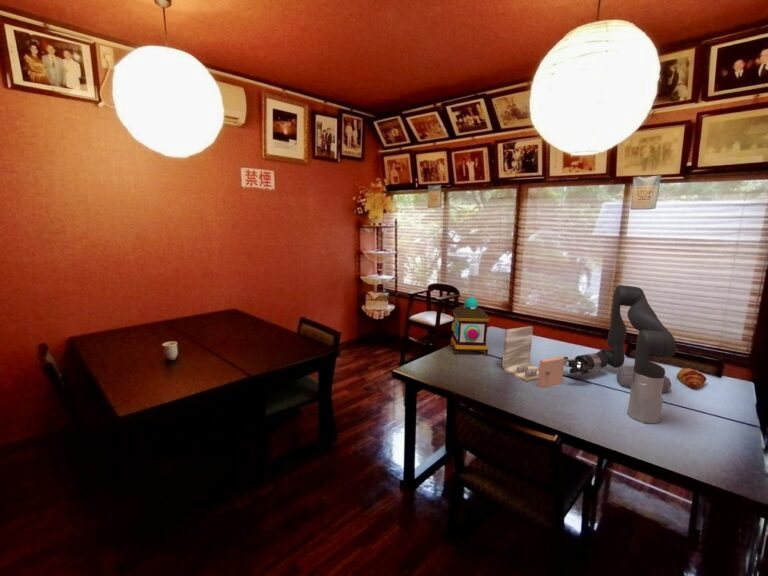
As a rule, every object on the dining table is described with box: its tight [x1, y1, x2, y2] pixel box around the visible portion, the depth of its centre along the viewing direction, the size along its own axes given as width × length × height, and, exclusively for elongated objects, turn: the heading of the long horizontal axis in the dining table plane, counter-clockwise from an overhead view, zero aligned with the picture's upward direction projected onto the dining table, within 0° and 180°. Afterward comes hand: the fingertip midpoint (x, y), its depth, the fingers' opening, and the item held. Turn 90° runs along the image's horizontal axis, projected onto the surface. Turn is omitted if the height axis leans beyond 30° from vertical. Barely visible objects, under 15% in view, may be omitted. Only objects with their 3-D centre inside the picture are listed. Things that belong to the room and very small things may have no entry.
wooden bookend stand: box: [501, 326, 539, 383], centre depth 175 cm, size 16×16×20 cm
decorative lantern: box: [450, 296, 490, 356], centre depth 204 cm, size 20×20×30 cm
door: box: [537, 356, 565, 389], centre depth 163 cm, size 3×12×12 cm, turn 114°
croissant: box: [676, 367, 707, 389], centre depth 170 cm, size 21×10×8 cm, turn 150°
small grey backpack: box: [616, 365, 672, 394], centre depth 165 cm, size 15×8×20 cm
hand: (562, 367), depth 166 cm, fingers open, 8 cm apart
